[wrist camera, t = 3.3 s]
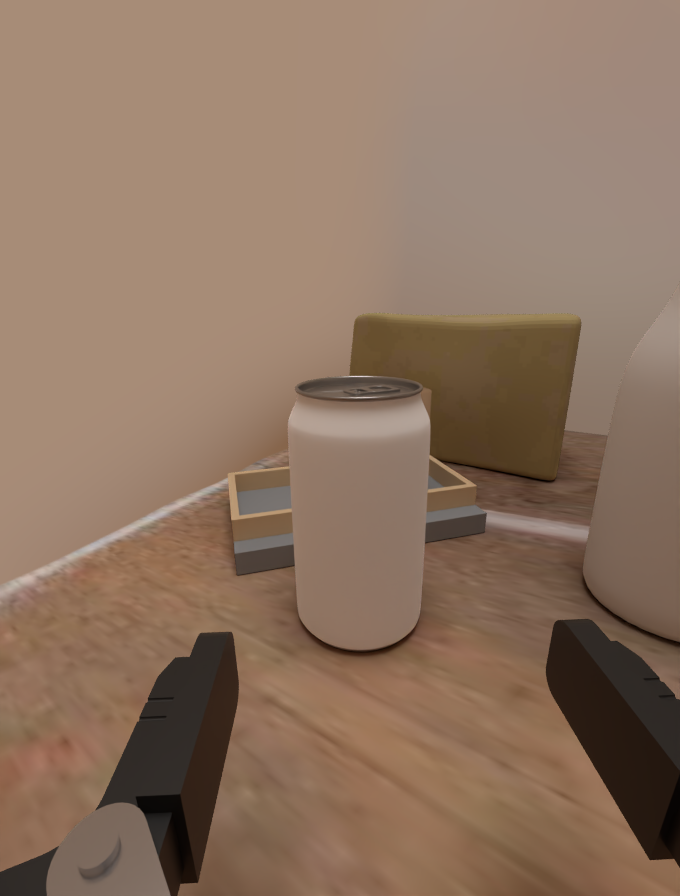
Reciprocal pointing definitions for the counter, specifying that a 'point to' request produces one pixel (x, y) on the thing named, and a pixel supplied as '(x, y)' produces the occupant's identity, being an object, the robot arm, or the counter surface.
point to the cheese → (481, 382)
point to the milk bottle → (642, 488)
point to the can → (359, 507)
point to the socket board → (270, 511)
